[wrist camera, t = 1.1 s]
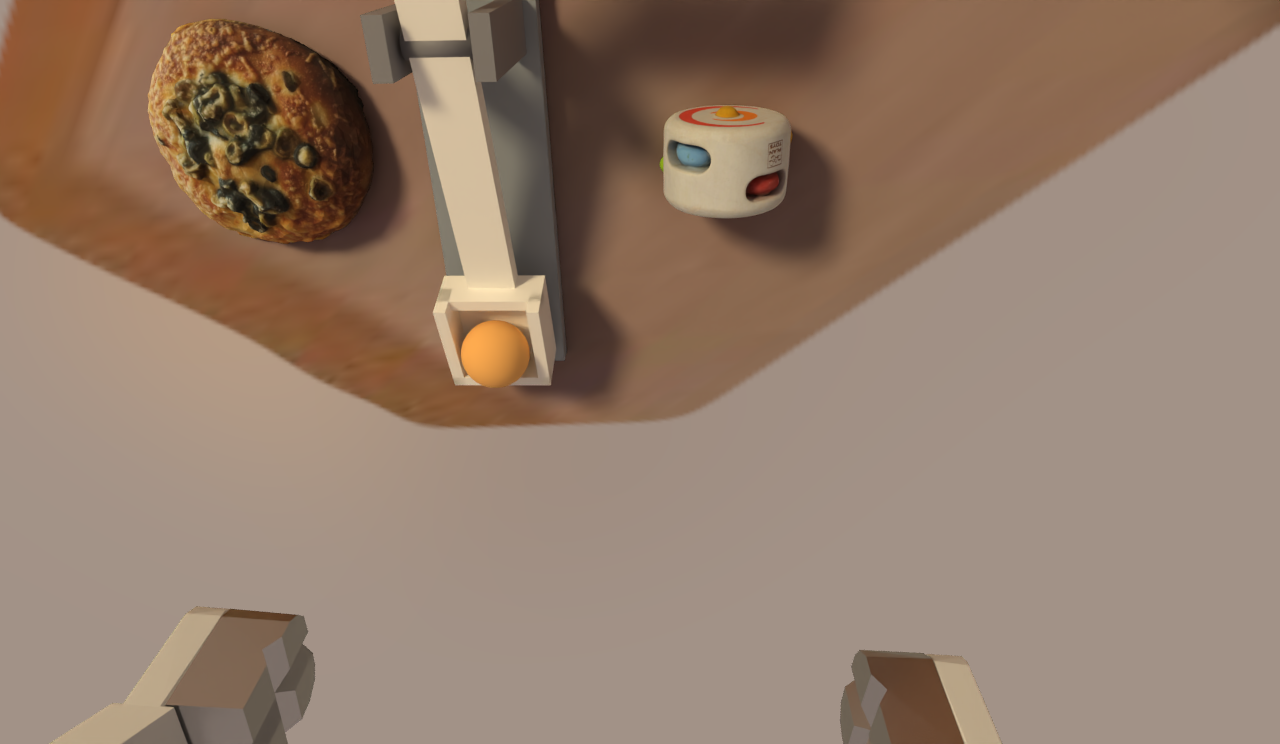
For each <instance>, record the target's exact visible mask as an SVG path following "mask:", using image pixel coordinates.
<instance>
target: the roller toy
mask: <svg viewBox="0 0 1280 744" xmlns="http://www.w3.org/2000/svg"><path fill="white" fill-rule="evenodd" d="M792 136H793V135H792V131H791V125H790V123H789V121H788V119H787V118H786V117H785V116H784V115H782V114H781V113H779V112H776V111H774V110H770V109H766V108H760V107H753V106H741V105H714V106H701V107H694V108H689V109H685V110H682V111H679V112H677V113H675V114H673V115H672V116H671V117H670V118H669V119H668V120H667V121H666V123H665V126H664V154H663V157H662V158H661V161H660V168H661V170H662V171H663V172H664V195H665V197H666V199H667V201H668V202H669V203H670V204H671V205H672V206H673V207H674V208H676V209H678V210H680V211H682V212H685V213H688V214H692V215H696V216H702V217H710V218H740V217H748V216H754V215H758V214H762V213H765V212H767V211H770V210H772V209H774V208H775V207H777V206H778V205H779V204H780V203H781V202H782V201H783V199H784V197H785V194H786V188H787V178H788V168H789V155H790V142H791V140H792Z"/></svg>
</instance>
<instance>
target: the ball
mask: <svg viewBox="0 0 1280 744" xmlns="http://www.w3.org/2000/svg"><path fill="white" fill-rule="evenodd" d="M461 359H462V364H463V366H464V369H465V371H466V372H467V374H468V375H469V376H470V377H471V378H472V379H473V380H474V381H475V382H477V383H479V384H481V385H483V386H486V387H491V388H500V387H505V386H508V385H511V384H512V383H514V382H516V381H517V380H518V379H519V378H520V377H521V376H522V375H523V374H524V372H525V371H526V369H527V366H528V364H529V359H530V349H529V345H528V342H527V339H526V338H525V336H524V335H523V333H522V332H521V331H520V330H519V329H518V328H517V327H515V326H514V325H512V324H510V323H508V322H505V321H500V320H490V321H486V322H483V323H480V324H478V325H477V326H475V327H474V328H473V329H472V330H471V331H470V332H469V333H468V334H467V336H466V337H465V339H464V341H463V344H462V348H461Z"/></svg>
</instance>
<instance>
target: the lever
mask: <svg viewBox="0 0 1280 744" xmlns="http://www.w3.org/2000/svg"><path fill="white" fill-rule="evenodd" d="M394 1H395V5H396V9H397V13H398V17H399V21H400V25H401V30H400V35H399V40H400V48H401V52H402V55H403V57H404V59H405V60H410V64H411V68H412V72H413V76H414V79H415V83H416V87H417V91H418V95H419V99H420V103H421V107H422V111H423V115H424V119H425V123H426V126H427V130H428V134H429V138H430V142H431V146H432V150H433V154H434V158H435V162H436V166H437V170H438V173H439V177H440V181H441V185H442V189H443V193H444V197H445V201H446V205H447V209H448V213H449V217H450V220H451V224H452V228H453V232H454V236H455V240H456V244H457V248H458V252H459V256H460V260H461V264H462V267H463V271H464V275H465V276H444V279H443V282H442V285H441V288H440V292H439V295H438V298H437V301H436V304H435V307H434V311H433V315H434V318H435V321H436V325H437V328H438V331H439V334H440V338H441V341H442V344H443V347H444V351H445V354H446V357H447V360H448V363H449V367H450V370H451V373H452V376H453V380H454V383H455V385H481V384H479V383H477V382H475V381H474V380H473V379H472V378H471V377H470V376H469V375H468V374H467V372H466V371H465V369H464V366H463V364H462V359H461V348H462V344H463V341H464V339H465V337H466V336H467V334H468V333H469V332H470V331H471V330H472V329H473V328H474V327H475V326H477V325H478V324H480V323H483V322H486V321H490V320H500V321H505V322H508V323H510V324H512V325H514V326H515V327H517V328H518V329H519V330H520V331H521V332H522V333H523V335H524V336H525V338H526V339H527V342H528V345H529V349H530V359H529V364H528V366H527V369H526V371H525V372H524V374H523V375H522V376H521V377H520V378H519V379H518V380H517V381H516V382H514V383H512V384H511V385H551V381H552V374H553V367H554V360H555V354H556V343H555V337H554V330H553V324H552V317H551V311H550V305H549V298H548V292H547V285H546V279H545V275H518V274H517V269H516V263H515V258H514V253H513V248H512V242H511V237H510V232H509V227H508V221H507V216H506V211H505V205H504V200H503V195H502V190H501V184H500V179H499V174H498V168H497V163H496V158H495V153H494V147H493V142H492V137H491V132H490V126H489V121H488V116H487V110H486V105H485V100H484V95H483V89H482V84H481V82H476V78H475V70H474V62H473V54H472V46H471V38H470V30H469V21H468V10H467V5H466V0H394Z"/></svg>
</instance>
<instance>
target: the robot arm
mask: <svg viewBox="0 0 1280 744" xmlns="http://www.w3.org/2000/svg"><path fill="white" fill-rule="evenodd" d="M307 633H308V630H307V626H306V623H305V619H304V616H300V615H292V614H281V613H270V612H259V611H248V610H237V609H223V608H210V607H198V606H197V607H195V608H194V609H192V610H191V611H189V612H188V613H187V614H185V615H184V617H183V618H182V619H181V621H180V622H179V624H178V625H177V627H176V628H175V630H174V631H173V632H172V634H171V635H170V637H169V638H168V640H167V641H166V642H165V644H164V645H163V647H162V648H161V650H160V651H159V653H158V654H157V655H156V657H155V658H154V660H153V661H152V663H151V664H150V666H149V667H148V668H147V670H146V671H145V673H144V674H143V676H142V677H141V678H140V680H139V681H138V683H137V684H136V686H135V687H134V689H133V690H132V692H131V693H130V694H129V696H128V697H127V699H126V700H125V702H124V703H123V704H121V703H120V704H119V703H112V704H110V705H109V706H107V707H106V708H104V709H102V710H101V711H99V712H98V713H96V714H95V715H93V716H91V717H90V718H88V719H87V720H85V721H84V722H82V723H81V724H79V725H77V726H76V727H74V728H73V729H72V730H70V731H68V732H66V733H65V734H63V735H62V736H60V737H59V738H57V739H56V740H54V741H52V742H51V743H50V744H288V742H287V739H286V734H285V732H286V731H287V730H289V729H290V728H291V727H293V726H294V725H295V724H296V723H297V722H299V721H300V720H301V719H302V718H303V715H304V713H305V710H306V708H307V706H308V704H309V701H310V698H311V694H312V689H313V685H314V681H315V662H314V657H313V653H312V652H311V651H310V650H309V649H308V648H307V647H306V646H304V645H303V644H302V643H303V641H304V639H305V637H306V635H307ZM851 667H852V672H853V675H854V681H852V682H851V683H850V684H849V685H847V686H845V689H844V693H843V697H842V700H841V714H840V715H841V716H840V724H841V732H842V739H843V744H1002V742H1001V739H1000V737H999V735H998V732H997V730H996V728H995V725H994V723H993V720H992V718H991V716H990V713H989V711H988V709H987V706H986V704H985V702H984V699H983V697H982V695H981V693H980V690H979V688H978V685H977V683H976V681H975V678H974V676H973V674H972V671H971V669H970V667H969V664H968V662H967V661H966V660H965V659H964V658H963V657H962V656H950V655H934V654H926V655H925V654H924V653H909V652H889V651H870V650H859V651H858V653H857V654H856V655H855V657H854V660H853V663H852V666H851Z"/></svg>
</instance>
